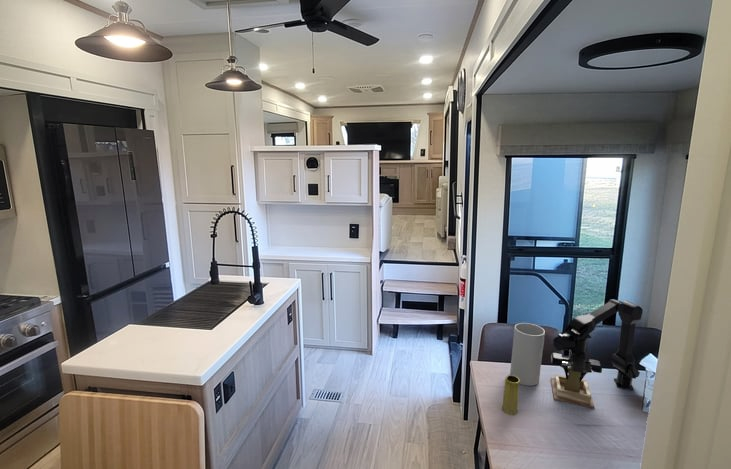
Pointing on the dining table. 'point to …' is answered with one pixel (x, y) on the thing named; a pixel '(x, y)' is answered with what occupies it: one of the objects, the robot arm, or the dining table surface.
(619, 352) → the robot arm
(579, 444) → the dining table surface
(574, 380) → the cork
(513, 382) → the vase
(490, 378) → the dining table surface
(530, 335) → the cylinder vase
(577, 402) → the socket block
